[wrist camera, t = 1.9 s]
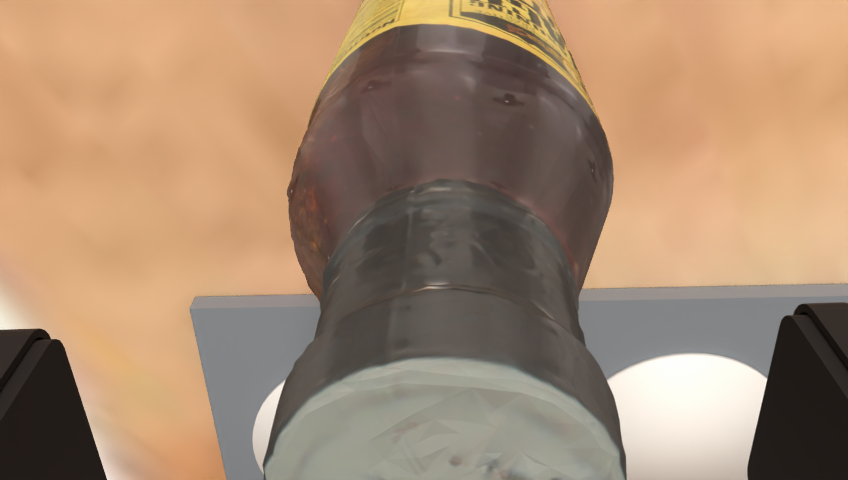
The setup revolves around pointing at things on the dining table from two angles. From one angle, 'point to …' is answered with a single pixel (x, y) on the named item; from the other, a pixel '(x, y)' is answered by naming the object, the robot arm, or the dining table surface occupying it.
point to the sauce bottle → (449, 255)
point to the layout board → (604, 337)
